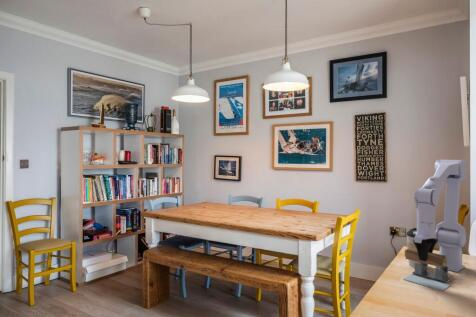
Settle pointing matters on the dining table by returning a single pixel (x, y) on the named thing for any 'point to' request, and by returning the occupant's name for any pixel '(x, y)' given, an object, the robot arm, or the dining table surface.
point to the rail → (431, 259)
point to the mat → (427, 282)
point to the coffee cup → (411, 244)
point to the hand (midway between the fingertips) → (425, 259)
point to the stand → (439, 274)
